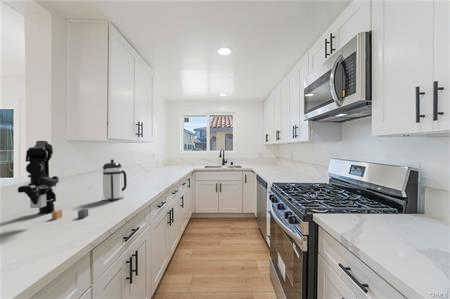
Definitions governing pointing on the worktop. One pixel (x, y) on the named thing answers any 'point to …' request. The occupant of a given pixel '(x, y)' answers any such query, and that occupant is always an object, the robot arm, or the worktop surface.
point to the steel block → (39, 201)
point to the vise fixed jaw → (82, 213)
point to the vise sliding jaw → (56, 214)
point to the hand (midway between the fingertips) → (38, 203)
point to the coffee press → (113, 180)
